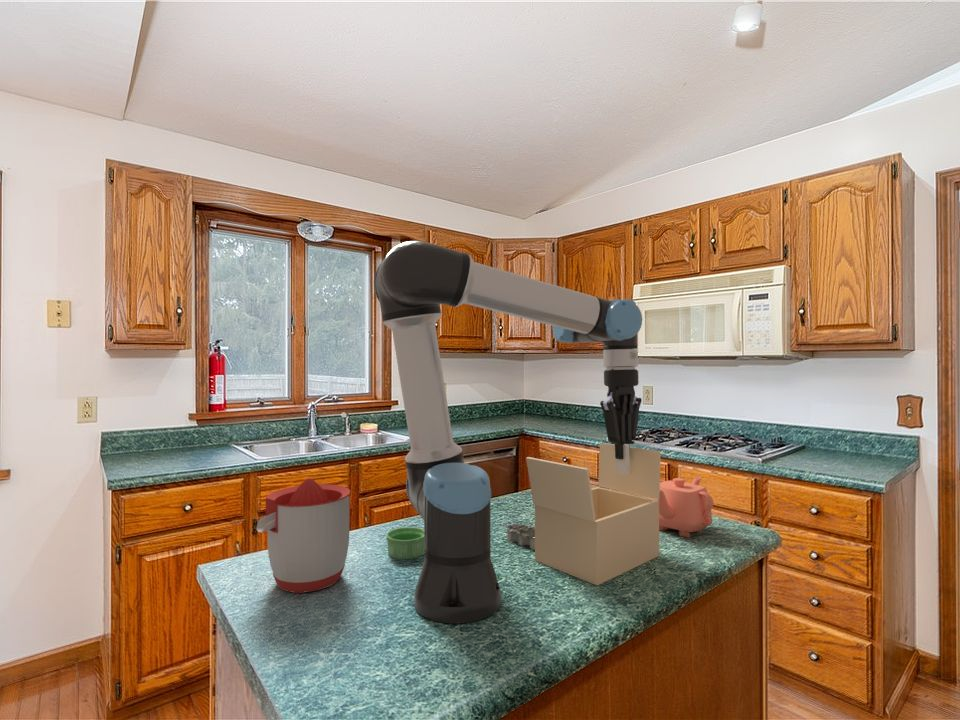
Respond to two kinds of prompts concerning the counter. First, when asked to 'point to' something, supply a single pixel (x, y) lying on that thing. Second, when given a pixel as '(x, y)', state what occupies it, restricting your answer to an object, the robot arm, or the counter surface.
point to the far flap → (631, 471)
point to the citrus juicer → (307, 535)
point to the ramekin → (405, 542)
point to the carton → (599, 536)
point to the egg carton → (521, 534)
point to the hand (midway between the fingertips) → (622, 472)
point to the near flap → (561, 488)
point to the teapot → (684, 506)
